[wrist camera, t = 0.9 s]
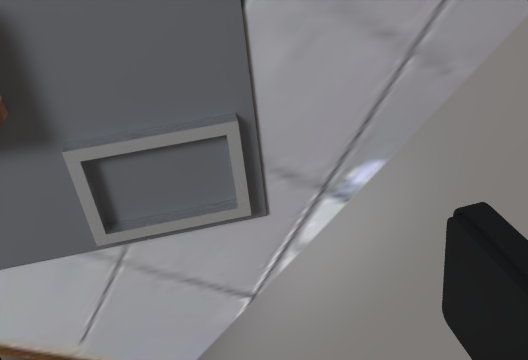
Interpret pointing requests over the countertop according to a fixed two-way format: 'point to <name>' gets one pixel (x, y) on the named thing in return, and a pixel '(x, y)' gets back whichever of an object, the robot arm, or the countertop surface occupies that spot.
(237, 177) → the metal frame
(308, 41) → the countertop surface
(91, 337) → the countertop surface
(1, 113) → the maple block
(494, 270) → the robot arm
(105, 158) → the rubber mat
